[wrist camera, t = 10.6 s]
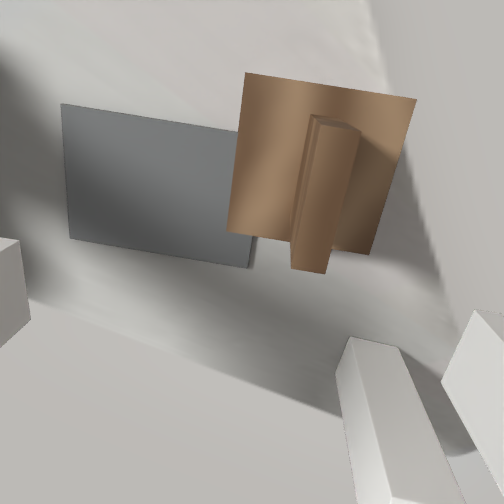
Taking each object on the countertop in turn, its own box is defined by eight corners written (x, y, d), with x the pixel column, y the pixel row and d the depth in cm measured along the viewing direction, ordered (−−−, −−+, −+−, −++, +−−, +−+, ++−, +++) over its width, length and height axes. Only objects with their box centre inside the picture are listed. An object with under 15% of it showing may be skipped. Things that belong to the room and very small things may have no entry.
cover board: (228, 226, 31) (203, 283, 22) (247, 73, 26) (225, 63, 17) (366, 249, 31) (400, 317, 22) (411, 98, 26) (480, 103, 17)
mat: (72, 236, 41) (69, 238, 40) (64, 103, 35) (60, 103, 35) (247, 266, 40) (247, 268, 40) (268, 136, 35) (267, 137, 34)
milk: (349, 335, 43) (404, 546, 23) (399, 346, 43) (497, 567, 23) (334, 373, 46) (371, 594, 25) (380, 384, 46) (455, 614, 25)
